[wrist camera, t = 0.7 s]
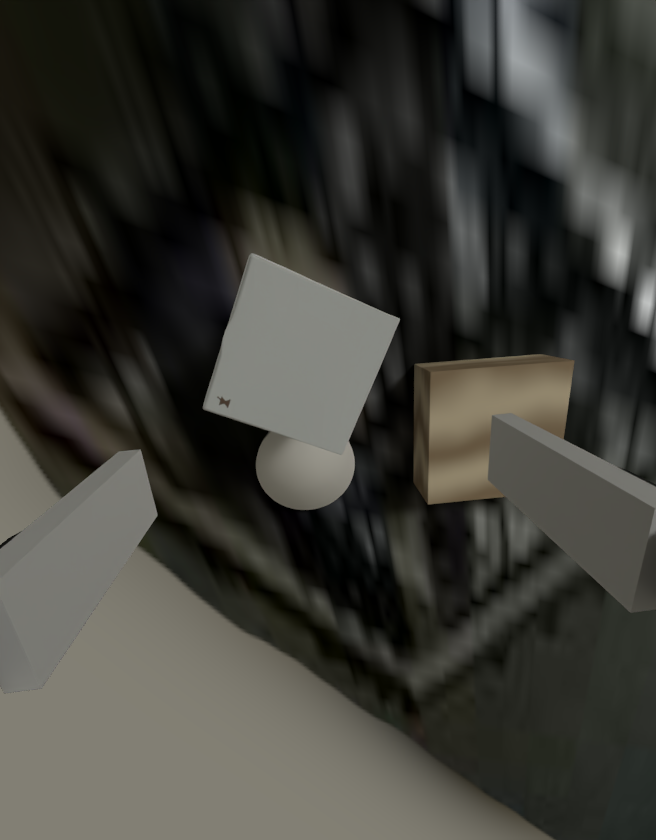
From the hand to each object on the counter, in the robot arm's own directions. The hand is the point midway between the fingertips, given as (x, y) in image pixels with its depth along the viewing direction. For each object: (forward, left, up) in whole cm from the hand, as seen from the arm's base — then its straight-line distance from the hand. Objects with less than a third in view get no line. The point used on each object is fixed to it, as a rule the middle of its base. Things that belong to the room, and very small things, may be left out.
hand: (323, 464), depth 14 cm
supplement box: (-3, -1, -23) cm, 23 cm away
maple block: (+7, +17, -23) cm, 29 cm away
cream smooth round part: (+10, -1, -22) cm, 24 cm away
